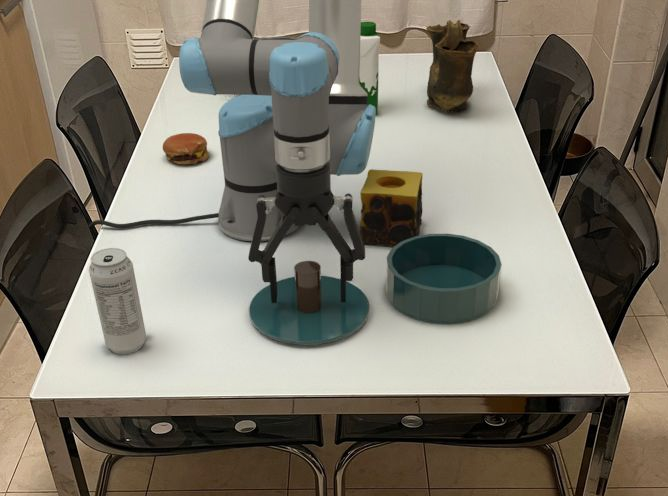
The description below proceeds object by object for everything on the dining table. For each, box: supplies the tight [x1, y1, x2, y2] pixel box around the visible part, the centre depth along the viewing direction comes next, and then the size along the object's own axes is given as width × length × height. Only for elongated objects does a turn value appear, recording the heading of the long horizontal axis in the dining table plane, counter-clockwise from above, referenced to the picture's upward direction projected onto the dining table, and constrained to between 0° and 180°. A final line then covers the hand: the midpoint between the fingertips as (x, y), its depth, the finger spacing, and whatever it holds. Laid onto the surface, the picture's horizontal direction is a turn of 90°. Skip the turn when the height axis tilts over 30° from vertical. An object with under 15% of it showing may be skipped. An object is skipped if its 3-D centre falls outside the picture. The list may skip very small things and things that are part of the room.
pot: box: [385, 233, 503, 325], centre depth 132 cm, size 18×18×6 cm
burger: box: [162, 132, 210, 165], centre depth 177 cm, size 10×9×5 cm
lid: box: [248, 260, 370, 346], centre depth 127 cm, size 19×19×8 cm
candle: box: [359, 169, 424, 247], centre depth 147 cm, size 10×10×10 cm
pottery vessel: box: [425, 19, 479, 115], centre depth 194 cm, size 25×11×20 cm, turn 0°
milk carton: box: [359, 21, 381, 116], centre depth 192 cm, size 9×9×20 cm
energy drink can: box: [88, 247, 147, 355], centre depth 120 cm, size 6×6×15 cm
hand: (308, 297), depth 128 cm, fingers open, 10 cm apart
